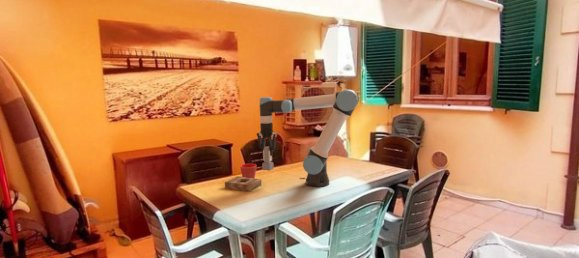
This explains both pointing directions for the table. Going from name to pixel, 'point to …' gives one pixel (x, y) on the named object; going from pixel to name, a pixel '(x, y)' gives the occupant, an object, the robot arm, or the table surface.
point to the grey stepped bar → (267, 160)
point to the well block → (243, 183)
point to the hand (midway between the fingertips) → (267, 160)
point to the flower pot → (248, 170)
